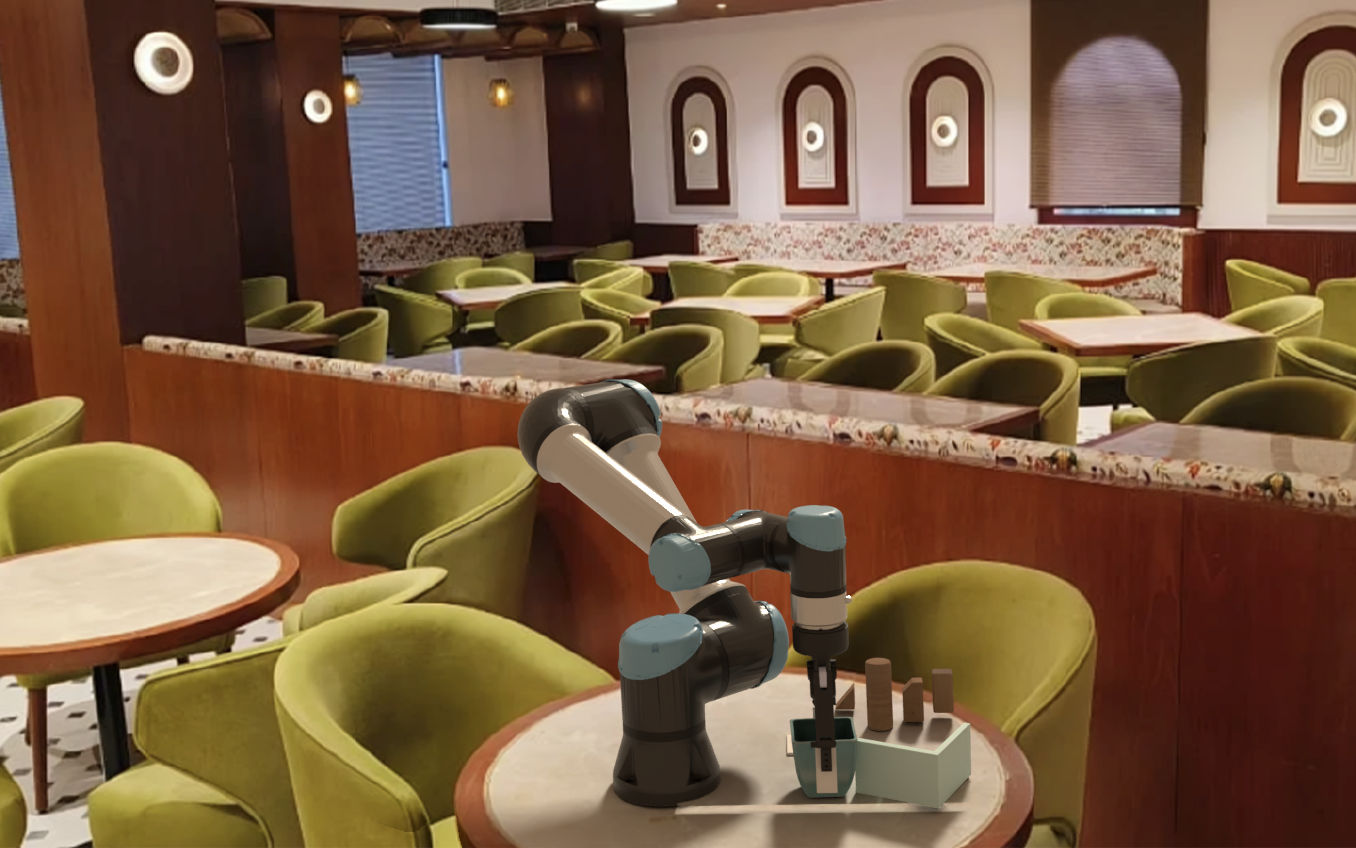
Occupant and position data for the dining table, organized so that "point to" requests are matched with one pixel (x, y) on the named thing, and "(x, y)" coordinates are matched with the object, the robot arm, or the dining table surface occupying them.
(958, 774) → the right angle wall
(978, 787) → the dining table surface
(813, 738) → the flower pot
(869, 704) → the wooden block set
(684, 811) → the dining table surface
